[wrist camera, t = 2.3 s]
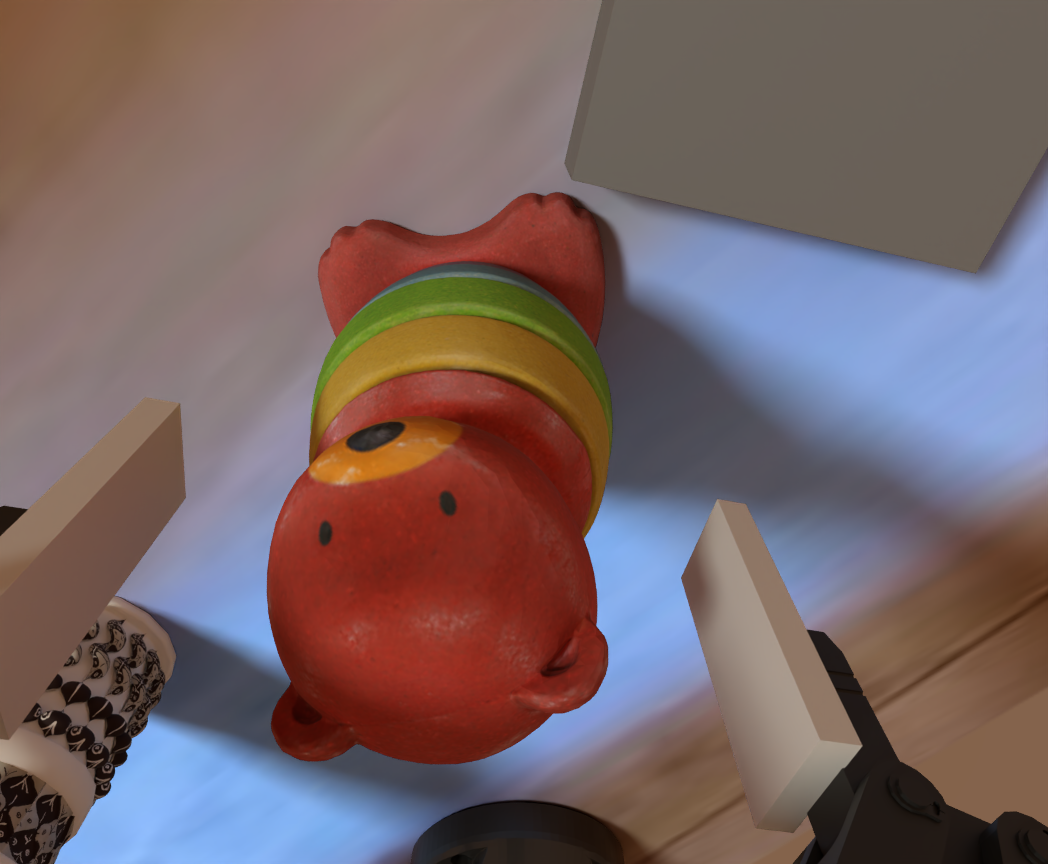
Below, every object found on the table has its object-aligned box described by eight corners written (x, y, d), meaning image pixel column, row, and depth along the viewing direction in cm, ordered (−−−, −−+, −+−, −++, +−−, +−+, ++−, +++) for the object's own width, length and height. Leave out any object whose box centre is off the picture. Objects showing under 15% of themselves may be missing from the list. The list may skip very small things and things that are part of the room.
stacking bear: (595, 180, 24) (738, 419, 8) (617, 421, 29) (733, 845, 13) (307, 228, 24) (-48, 527, 9) (379, 454, 30) (229, 892, 14)
